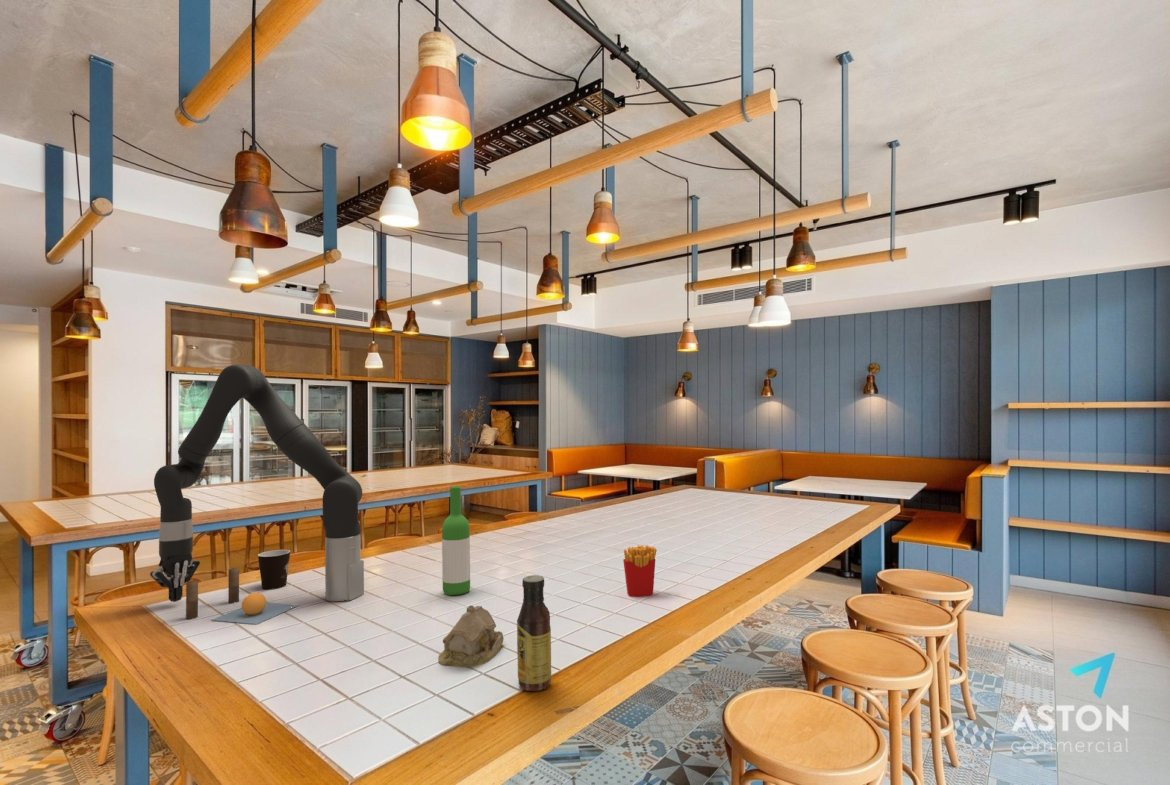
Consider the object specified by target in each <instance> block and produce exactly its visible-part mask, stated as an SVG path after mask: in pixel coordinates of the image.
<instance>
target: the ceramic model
mask: <svg viewBox="0 0 1170 785" xmlns="http://www.w3.org/2000/svg"><path fill="white" fill-rule="evenodd" d="M496 627H497V625H496V622H495V620H494V618H493V617H492V615H491V613H490V611H488V609H485V608H483V606H482V605H477V606H473V605H470V606H468V607H466V612H465V613H463V614H462V615H461V616H460V618H459V620H458V621H457V622H456V624H455V625H454V626H453V627H452V628H451V630H450V632H448V634H447V635H446V636H445V637H444V638H443V639H442V644H443V646H444V648H443V651H441V652H440V654H438V659H437V660H438V661H437V662H438V663H439V664H440V665H441V666H452V667H453V666H454V667H455V666H456V667H461V668H462V667H463V668H469V667H470V668H471V667H477V666H479V665H482V664H485V663H488V662H489V661H490V660H491V659H492V658H493V657H495V656H496V655H497V653H498V652H499V651H501V649H502V646H503V643H504V640H505V639H504V635H503V634H504V633H503V632H502V631H500V630H498V631H497V630H495V628H496Z"/></svg>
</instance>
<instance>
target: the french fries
mask: <svg viewBox="0 0 1170 785" xmlns="http://www.w3.org/2000/svg"><path fill="white" fill-rule="evenodd" d="M656 554H657V548H656V547H655V546H650V545H645V546H644V545H642V544H641V545H639V544H638V545H637V546H632V547H631V546H629V547H627V549H626V548H624V549H623V556H624V559H622V561H623V568H624V576H625V577H624V578H625V585H626V586H625V587H626V594H627V596H629V597H631V598H638V597H639V598H641V597H650V596H652V595H654V586H655V584H654V583H655V570H656Z"/></svg>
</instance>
